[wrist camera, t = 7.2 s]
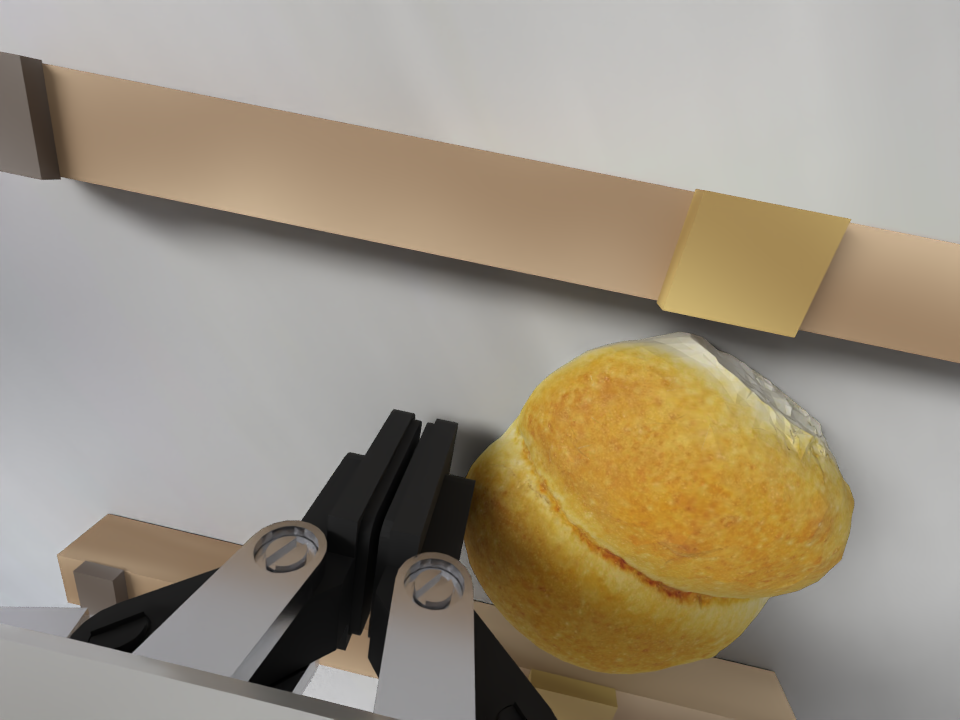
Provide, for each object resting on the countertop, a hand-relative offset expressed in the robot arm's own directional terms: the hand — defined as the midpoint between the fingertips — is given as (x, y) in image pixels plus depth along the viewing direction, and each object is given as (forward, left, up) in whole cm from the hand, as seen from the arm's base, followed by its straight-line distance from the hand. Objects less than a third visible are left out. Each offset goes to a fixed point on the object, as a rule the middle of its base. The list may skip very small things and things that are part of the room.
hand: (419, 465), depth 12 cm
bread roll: (0, -6, -2) cm, 6 cm away
